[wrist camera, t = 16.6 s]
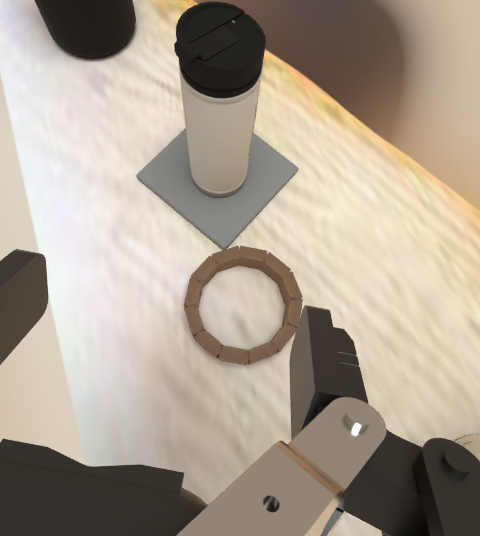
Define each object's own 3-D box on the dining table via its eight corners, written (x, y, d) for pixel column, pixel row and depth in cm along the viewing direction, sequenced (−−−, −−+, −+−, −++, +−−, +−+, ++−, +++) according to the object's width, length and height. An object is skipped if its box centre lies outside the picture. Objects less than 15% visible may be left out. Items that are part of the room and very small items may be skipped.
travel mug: (177, 170, 47) (151, 21, 28) (222, 138, 48) (228, -24, 29) (212, 210, 46) (210, 84, 27) (257, 177, 47) (287, 34, 28)
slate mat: (297, 171, 49) (298, 168, 48) (224, 251, 46) (224, 248, 45) (213, 106, 50) (213, 101, 50) (137, 178, 47) (136, 175, 46)
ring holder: (316, 302, 45) (324, 296, 42) (248, 386, 42) (251, 387, 39) (235, 235, 46) (237, 225, 43) (164, 313, 43) (161, 308, 40)
